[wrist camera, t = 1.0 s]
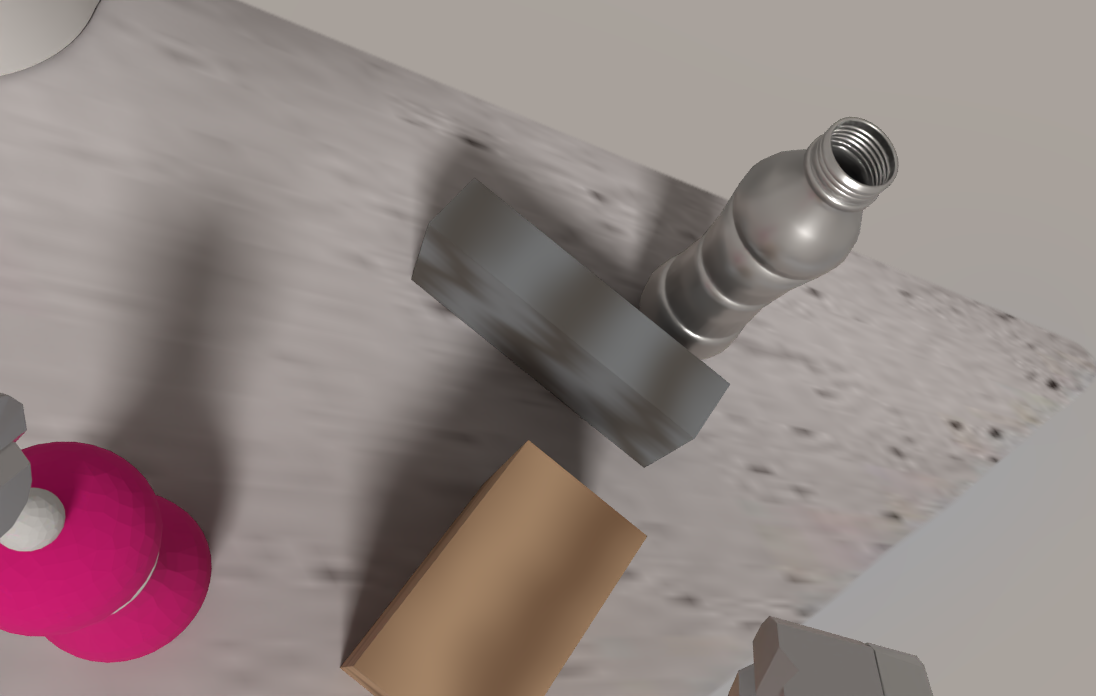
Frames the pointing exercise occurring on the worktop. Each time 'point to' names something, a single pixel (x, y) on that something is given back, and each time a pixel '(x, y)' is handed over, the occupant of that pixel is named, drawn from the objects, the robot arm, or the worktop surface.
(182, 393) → the worktop surface
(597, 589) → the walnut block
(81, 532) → the pepper mill
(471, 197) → the charcoal board
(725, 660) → the worktop surface
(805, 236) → the silver metal bottle
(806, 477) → the worktop surface
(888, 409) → the worktop surface
